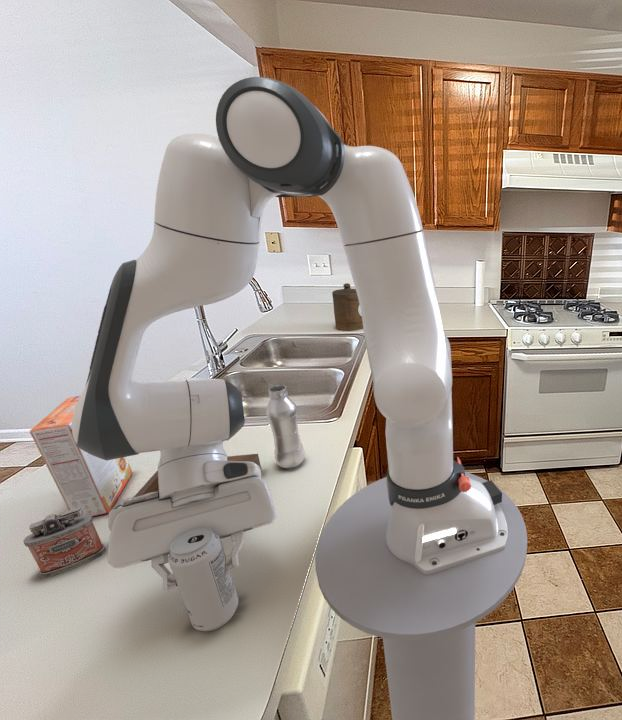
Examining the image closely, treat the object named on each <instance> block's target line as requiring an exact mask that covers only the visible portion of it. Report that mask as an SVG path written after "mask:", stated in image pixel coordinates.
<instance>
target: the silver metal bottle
mask: <svg viewBox="0 0 622 720" xmlns="http://www.w3.org/2000/svg"><path fill="white" fill-rule="evenodd" d="M267 391H268V398H269V399H270V400H269V401H268V403H267V406H266V408H265V416H266V418H267V421H268V423H269V425H270V429H271V432H272V436H273V442H274V461H275V462H276V464H277V466H279V467H280V468H282V469H293V468H295V467H298V466H299V465H301V464H302V463H303V461H304V459H305V457H306V455H305V454H306V450H305V448H304V445H303V443H302V440H301V435H300V433H299V426H298V425H299V424H298V407H297V404H296V403H295V401H294V400H292V399H291V398H290V397H288V396H289V392H288V390H287V386H286V385H283V384H278V385H276V384H275V385H273V386H270V387H269V388H268V389H267Z"/></svg>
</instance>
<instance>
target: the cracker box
mask: <svg viewBox="0 0 622 720" xmlns="http://www.w3.org/2000/svg"><path fill="white" fill-rule="evenodd" d="M80 396H81V395H77V396H70V397H67V398H66V399H65V400H63V401H62V402H61V403H60V404H58V406H57V407H56V408H54V409H53V410H52V411H51V412H50V413H49V414H48V415H46V416H45V417H44V418H43V419H42V420H41V421H39V422H38V423H37V424H36V425H34V427H32V428H31V429H30V430H29V434H30V436H31V438H32V439H33V441H34V444H35V445H36V447H37V449H38V451H39V453H40V455H41V457H42V459H43V462H44V463H45V465H46V468H47V469H48V472H49V473H50V475H51V478H52V479H53V481H54V483H55V485H56V487H57V490H58V491H59V494H60V495H61V497H62V499H63V501H64V503H65V505H66V507H67V510H68V511H69V510H72V509H75V508H78V507H79V508H82V511H83V515H91V516H92V518H93V517H97V516H102V515H105V514H109V512H110V511H111V510H112V508H113V507H114V506H115V504H116V502H117V500H118V499H119V497H120V495H121V494H122V492H123V490H124V489H125V487H126V485H127V484H128V482H129V480H130V478H131V477H132V476H133V470H132V468H131V465H130V463H129V460H128V458H127V457H128V456H127V457H122V458H117V459H112V460H107V461H106V460H103V459H101V458H98V457H95V456H93V455H91V454H89V453H87V452H85V451H83V450H82V449H80V448H78V447H77V443H76V442H75V440H74V438H73V434H72V418H73V413H74V410H75V407H76V404H77V402H78V400H79V398H80ZM83 515H82V516H83Z"/></svg>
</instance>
